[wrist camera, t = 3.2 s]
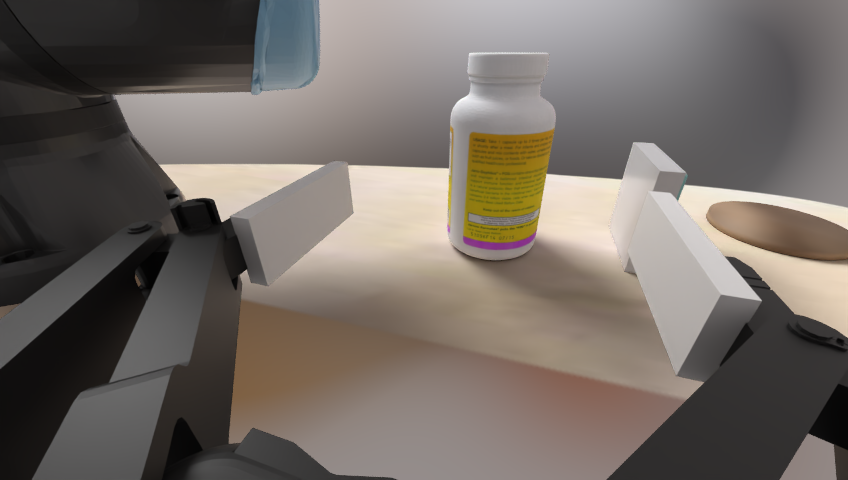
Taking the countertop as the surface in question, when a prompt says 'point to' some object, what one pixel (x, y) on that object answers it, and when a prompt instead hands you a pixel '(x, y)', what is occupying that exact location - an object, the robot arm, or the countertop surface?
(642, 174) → the tile
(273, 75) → the robot arm
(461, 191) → the supplement bottle
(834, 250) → the coaster
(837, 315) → the countertop surface
